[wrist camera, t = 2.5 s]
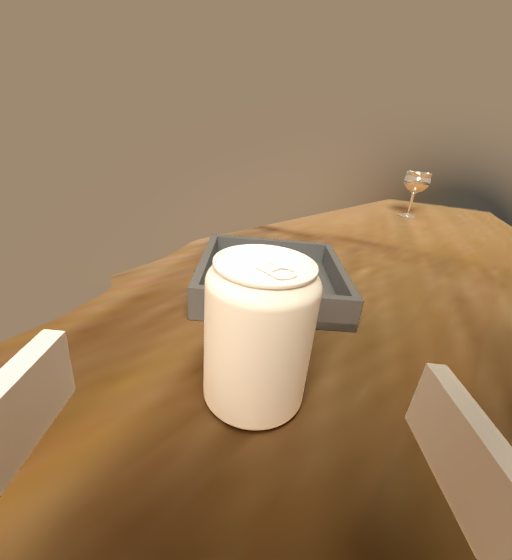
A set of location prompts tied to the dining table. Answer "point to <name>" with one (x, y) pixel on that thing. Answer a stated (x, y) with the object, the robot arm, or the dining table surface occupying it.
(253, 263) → the beverage can
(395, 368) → the dining table surface
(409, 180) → the wineglass
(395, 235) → the dining table surface
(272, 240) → the bin
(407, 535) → the dining table surface
